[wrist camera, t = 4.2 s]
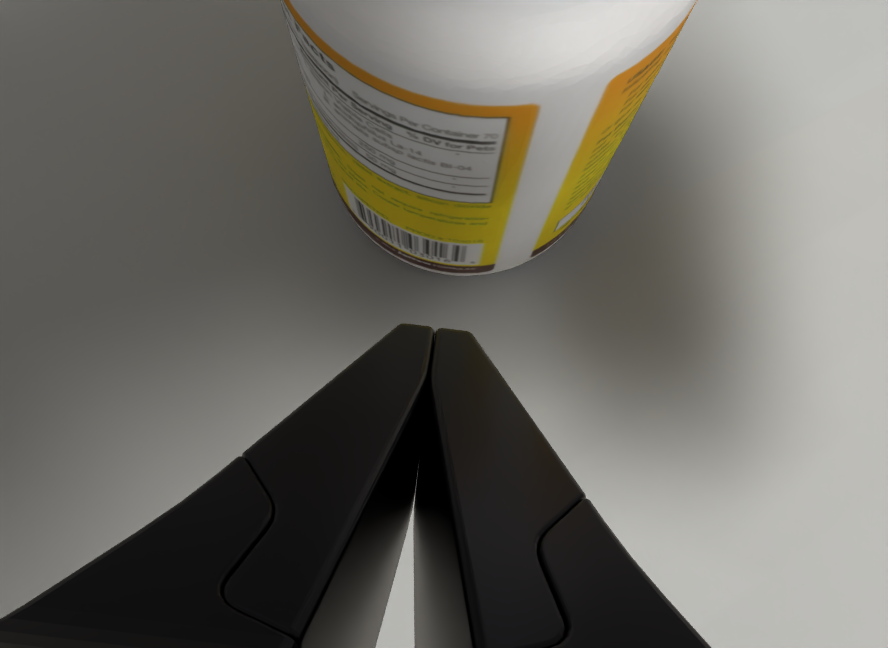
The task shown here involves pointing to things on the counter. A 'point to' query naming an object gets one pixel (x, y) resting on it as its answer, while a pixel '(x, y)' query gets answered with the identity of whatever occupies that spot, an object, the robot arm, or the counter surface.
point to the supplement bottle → (475, 115)
